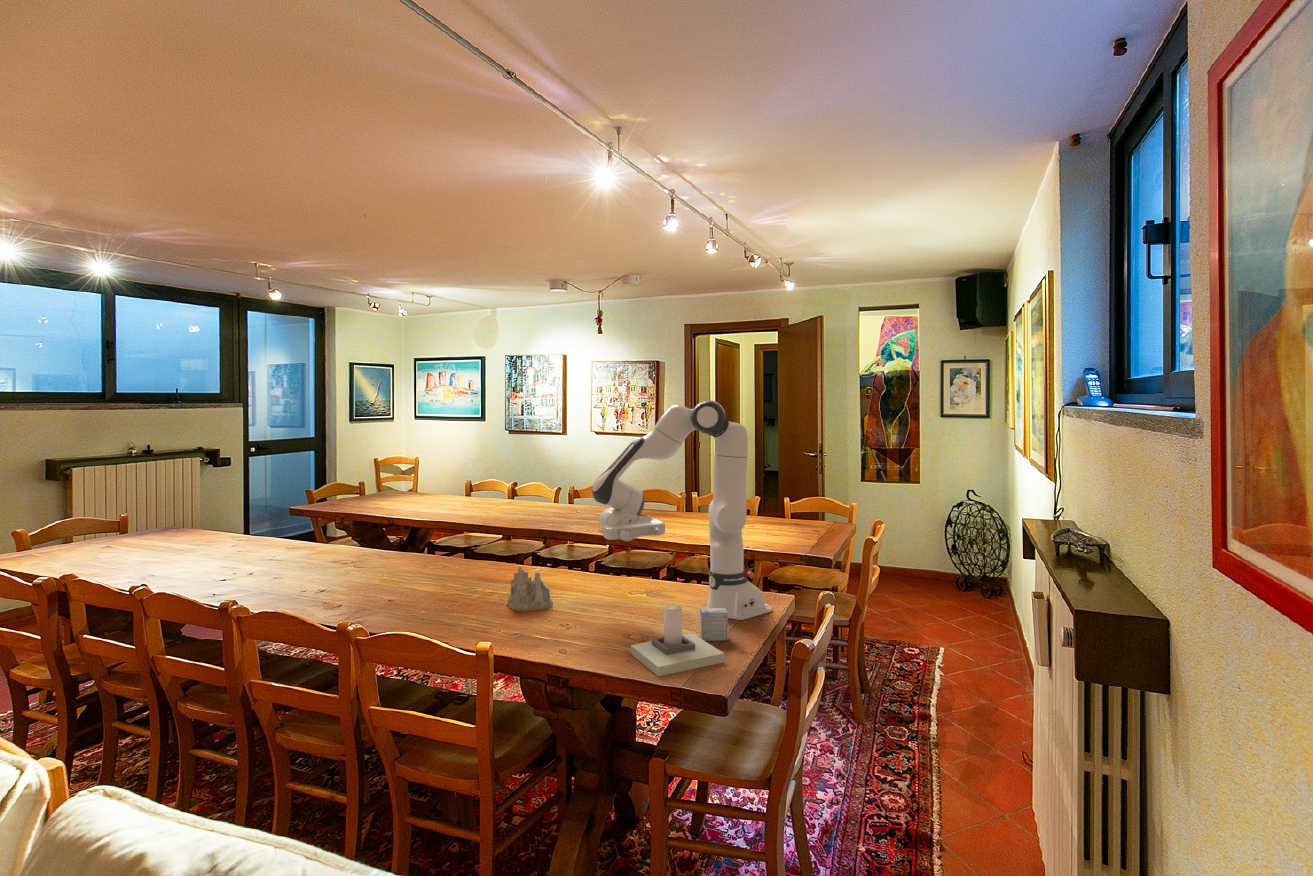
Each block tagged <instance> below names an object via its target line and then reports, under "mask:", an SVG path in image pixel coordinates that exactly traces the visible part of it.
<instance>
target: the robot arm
mask: <svg viewBox="0 0 1313 876" xmlns="http://www.w3.org/2000/svg"><path fill="white" fill-rule="evenodd" d="M694 431H699V432H701V433H702V434H705V435H709V436H711V437H713V439H714V443H715V444H714V445H715V447H714V458H713V459H714V460H713V470H712V472H713V473H712V484H713V486H712V488H713V491H712V493H713V494H712V495H713V497H712V500H711V501H710V503H709V505H708V526H709V527H708V528H709V529H708V530H709V545H710V550H709V551H710V554H709V555H710V558H709V559H710V562H709V563H710V568H709V571H708V572H709V573H708V582H709V583H708V584H709V594H708V600H707V604H706V605H707V606H706V608H725V609H726V610H727V613H728V619H732V620H738V621H744V620H747V619H751V618H754V617H757V616H761V615H764V614H768V613H771V612H772V607H771V605H769V604H768V603H766V602H765V596H764V593H763V591H762V590H761V589H760V588H758V587H757V586H756V585H754V584H753V583H752V582H751V581H749V578H750V579H753V577H754V576H755V573H754V572H753V571H749V570H748V571H747V570H745V569H744V543H743V533H742V530H743V529H744V527H745V525H746V524H747V519H748V518H747V517H748V516H747V510H748V509H747V506H748V505H747V503H748V502H747V495H748V493H747V472H748V460H749V458H748V457H749V440H748V439H749V438H748V437H749V436H748V432H747V428H746V427H745V426H744V425H743V424H741V423H738V422H734V421H729V419H728V417H727V415H726V412H725V409H724V408H723V406H722V405H721V404H720V403H719V402H717V401H714V400H703V401H701V402H699V403H698V404H696V405H695V406H694V407H693V408H688V407H687V406H684V405H682V404H672V405H671V406H670V407H669V408H668V409H666V410H665V411H664V413H663V414H662V415H661V417H660V418H659V420H657V422H656V424H655V425H654V427H653V428H652V429H651V431H650V432H648V433H647V434H645V435H644V436H641V437H640V436H639V437H636V438H635V439H634V440H633V441H631V443H629V444H628V445H627V447H626V448H625V449H624V450H623V451H622V452H621V453H620V455H619V456H618V457H617V458H616V459H615V460H614V461H613V462H612V464H610V466H609V467H608V468H607V469H606V470H605V471H604V472H602V473H601V474H600V475H599V476H598V477H597V478H596V479H595V481H594V482H593V484H592V487H591V492H592V496H593V498H594V501H595V502H596V503H599V504H602V505H604V506H608V507H609V508H606V509H604V510H602V511H601V512H600V514H599V517H598V522H599V526H600V528H599V529H598V533H601V534H602V536H603V538H604V539H606V540H608V541H610V540H611V541H612V540H622V541H624V542H630V541H633V540H635V539H638V538H641V537H649V536H650V537H651V536H655V537H657V536H660V535H661V536H662V535H664V534H665V533H666V524H665V522H663V521H662V520H659V519H656V518H654V517H652V516H651V515H647V514H642V512H643V510H644V508H645V507H644V506H645V496H644V495H645V494H644V492H643V491H642V490H640V489H639V488H637V487H635V486H633V485H631V484H628V483H627V482H624V481H623V480H621V479H620V478H621V477H622V476H623V474H624V473H625V472H627V470H628V469H629V467H630V466H631V465H632V464H633V463H634V462H636V461H639V460H642V459H643V460H644V459H645V460H646V459H648V460H656V461H657V460H658V461H659V460H660V461H661V460H668V459H670V458H672V457H674V456H675V455H676V453H678V451H679V449H680V448H681V447H682V445H683V443H684V441H685V440H686V438H687V437H688V436H689V435H690V434H691V433H692V432H694Z"/></svg>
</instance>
